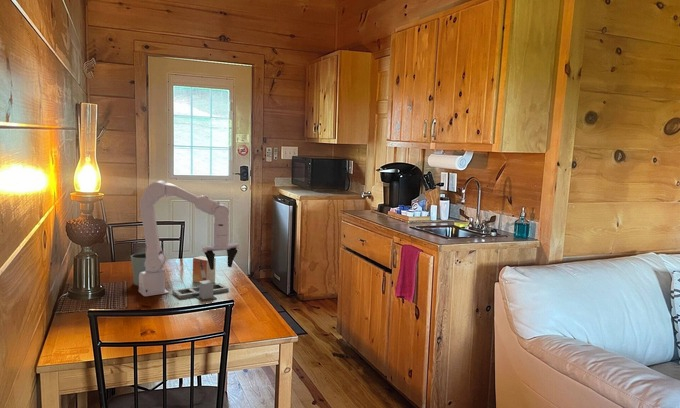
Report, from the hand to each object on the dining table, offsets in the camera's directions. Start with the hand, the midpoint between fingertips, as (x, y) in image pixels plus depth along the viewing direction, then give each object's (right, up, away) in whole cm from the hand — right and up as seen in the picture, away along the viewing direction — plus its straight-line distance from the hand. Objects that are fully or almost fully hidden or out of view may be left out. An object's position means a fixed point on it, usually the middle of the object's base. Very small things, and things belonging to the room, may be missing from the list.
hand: (220, 267), depth 201 cm
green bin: (-34, -8, +9) cm, 36 cm away
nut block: (-4, -10, -7) cm, 13 cm away
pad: (-4, -11, -8) cm, 14 cm away
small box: (-11, -8, +15) cm, 20 cm away
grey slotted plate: (-8, -10, -1) cm, 12 cm away
